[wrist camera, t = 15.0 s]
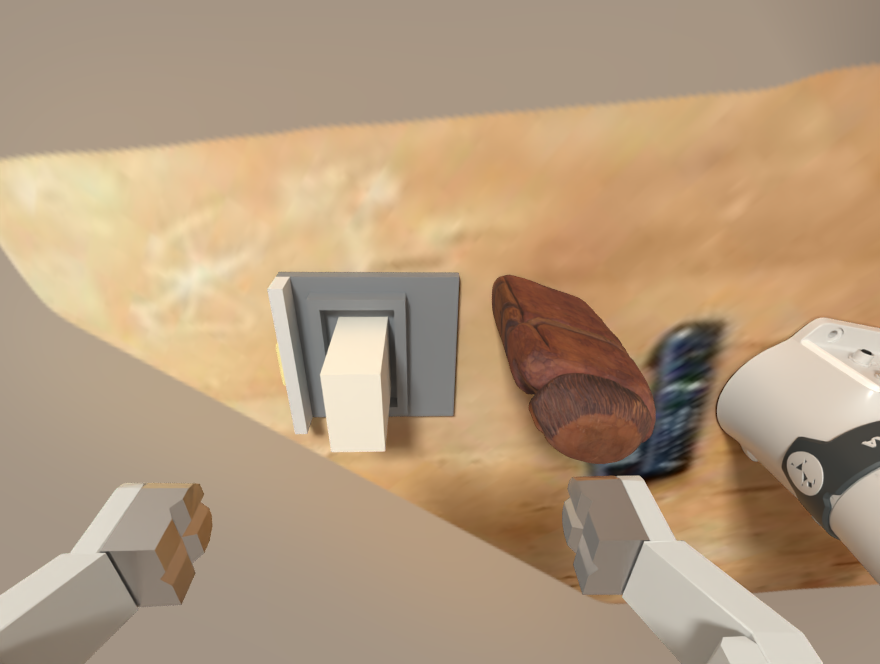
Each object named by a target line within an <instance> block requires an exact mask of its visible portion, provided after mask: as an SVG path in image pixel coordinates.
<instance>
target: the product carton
mask: <svg viewBox="0 0 880 664" xmlns="http://www.w3.org/2000/svg"><path fill="white" fill-rule="evenodd" d="M320 378H321V385H322V392H323V398H324V405H325V412H326V419H327V426H328V433H329V440H330V446H331V452H375V451H385V448H386V437H387V426H388V416H389V405H390V394H391V370H390V350H389V329H388V317H339V318H338V321H337V324H336V327H335V330H334V333H333V336H332V339H331V342H330V345H329V348H328V352H327V355H326V358H325V361H324V364H323V367H322V370H321V373H320Z"/></svg>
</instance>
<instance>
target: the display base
mask: <svg viewBox="0 0 880 664" xmlns="http://www.w3.org/2000/svg"><path fill="white" fill-rule="evenodd" d="M267 290H268V295H269V300H270V305H271V310H272V316H273V321H274V326H275V331H276V336H277V344H276V351H277V356H278V361H279V366H280V371H281V377H282V382H283V385H286V388H287V393H288V399H289V404H290V409H291V414H292V419H293V425H294V430H295V434H308V430H309V427H310V424H311V421H312V417H326V412H325V405H324V398H323V392H322V385H321V378H320V373H321V370H322V367H323V364H324V361H325V358H326V355H327V352H328V348H329V345H330V342H331V339H332V336H333V333H334V330H335V327H336V324H337V321H338V318H339V317H388V329H389V350H390V370H391V394H390V405H389V416H453V409H454V386H455V363H456V340H457V317H458V294H459V273H394V272H279V273H278V274H277V276H276V277H275V279H274V280H273V282H272V283H271V284H270V286H269V287H268V289H267Z"/></svg>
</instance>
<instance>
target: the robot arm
mask: <svg viewBox="0 0 880 664" xmlns="http://www.w3.org/2000/svg"><path fill="white" fill-rule="evenodd" d="M717 417H718V421H719V424H720V426H721V427H722V429H723V430H724V431H725V432H726V433H727V434H728V435H730V436H731V437H732V438H734V439H735V440H736V441H738V442H739V443H740V444H741V447H742V449H743V451H744V453H745V454H746V455H747V456H748V457H749V458H750V459H751V460H752V461H759V462H760V463H761V464H762V465H763V466H764V467H765V468H766V469H767V470H768V471H769V472H770V473H771V474H772V475H773V476H774V477H775V478H776V479H777V480H779V481H780V482H781V483H782V484H783V485H784V486H785V487H786V488H787V489H788V490H789V491H790V492H791V493H792V494H793V495H794V496H795V497H796V498H798V500H799V501H800V503H801V504H802V505H803V506H804V507H805V508H806V509H807V511H808V512H809V513H810V514H811V515H812V518H813V519H814V520H815V521H816V523H818V524H819V525H820V526H822V527H823V528H824V529H825V530H826V532H827V533H828V534H829V535H831V536H832V537H834V538H836V539H838V540H841V541H842V542H843V543H844V545H845V546H846V547H847V548H848V549H849V550H850V552H851V553H852V554H853V555H854V556H855V557H856V558H857V560H858V561H859V562H860V563H861V564H862V565H863V566H864V568H865V569H866V570H867V571H868V572H869V573H870V575H871V576H872V577H873V578H874V579H875V580H876V581H877V583H878V584H879V585H880V328H876V327H871V326H866V325H860V324H855V323H850V322H845V321H840V320H835V319H830V318H818V319H815V320H813V321H811V322H810V323H808V324H807V325H806V326H804V327H803V328H802V329H801V330H799V331H798V332H797V333H796V334H795V335H793V336H792V337H791V338H789V339H788V340H786V341H784V342H782V343H780V344H778V345H776V346H773V347H771V348H769V349H767V350H765V351H763V352H762V353H760V354H758V355H757V356H755V357H754V358H752V359H751V360H750V361H748V362H747V363H746V364H744V365H743V366H742V367H741V368H740V369H739V370H738V371H737V372H736V373H735V374H734V375H733V376H732V377H731V379H730V380H729V381H728V383H727V384H726V386H725V387H724V389H723V391H722V393H721V395H720V398H719V401H718V405H717ZM567 489H568V492H569V495H570V498H569V499H567V500H566V501H565V502H564V506H563V511H562V522H563V530H564V535H565V538H566V542H567V545H568V546H569V547H570V548H571V549H572V550H573V551H574V552H575V553H576V556H575V560H574V564H573V565H574V568H575V572H576V575H577V578H578V581H579V585H580V588H581V591H582V594H583V595H623V596H622V597H623V599H624V600H625V601H626V602H627V603H628V604H629V605H630V606H631V607H632V609H633V610H634V611H635V612H636V613H637V614H638V615H639V617H640V618H641V619H642V620H643V621H644V622H645V623H646V624H647V626H648V627H649V628H650V629H651V630H652V631H653V632H654V633H655V634H656V636H657V637H658V638H659V639H660V640H661V641H662V642H663V644H664V645H665V646H666V647H667V648H668V649H669V650H670V651H671V652H672V654H673V655H674V656H675V657H676V658H677V659H678V660H679V662H680V663H681V664H823V662H822V661H821V659H820V658H819V656H818V655H817V653H816V652H815V650H814V649H813V647H812V646H811V644H810V643H809V641H808V640H807V638H806V637H805V635H804V634H803V633H802V632H801V631H800V630H799V629H797V628H796V627H795V626H793V625H792V624H791V623H789V622H788V621H787V620H785V619H784V618H782V616H780V615H779V614H777V613H776V612H775V611H774V610H773V609H771V608H770V607H769V606H767V605H766V604H765V603H764V602H762V601H761V600H760V599H758V598H757V597H756V596H755V595H753V594H752V593H751V592H749V591H748V590H747V589H745V588H744V587H743V586H742V585H740V584H739V583H738V582H736V581H735V580H734V579H733V578H731V577H730V576H729V575H727V574H726V573H725V572H723V571H722V570H721V569H720V568H718V567H717V566H716V565H714V564H713V563H712V562H711V561H709V560H708V559H707V558H705V557H704V556H703V555H701V554H700V553H699V552H698V551H696V550H695V549H694V548H692V547H691V546H690V545H689V544H687V543H686V542H685V541H677V540H676V538H675V537H674V535H673V533H672V531H671V529H670V527H669V526H668V524H667V522H666V520H665V518H664V516H663V514H662V513H661V511H660V509H659V507H658V505H657V503H656V502H655V500H654V498H653V496H652V494H651V492H650V491H649V489H648V487H647V485H646V483H645V481H644V479H642V478H641V477H640V476H616V477H615V476H591V477H572V478H571V479H570V481H569V484H568V488H567ZM203 496H204V493H203V490H202V488H201V486H200V484H196V483H124V484H122V485H121V486H119V487H118V488H117V489H116V490H115V491H114V492H113V494H112V495H111V497H110V498H109V499H108V501H107V502H106V503H105V505H104V506H103V508H102V509H101V511H100V512H99V513H98V515H97V516H96V517H95V519H94V520H93V522H92V523H91V524H90V526H89V527H88V529H87V530H86V531H85V533H84V534H83V536H82V537H81V538H80V540H79V541H78V542H77V544H76V545H75V547H74V548H73V549H72V551H71V552H70V553H63V554H61V555H59V556H58V557H56V558H55V559H53V560H52V561H50V562H49V563H47V564H46V565H44V566H43V567H41V568H40V569H39V570H37V571H36V572H34V573H33V574H31V575H30V576H28V577H27V578H25V579H24V580H22V581H21V582H19V583H18V584H16V585H15V586H14V587H12V588H11V589H9V590H8V591H6V592H5V593H3V594H2V595H0V664H84V663H85V662H86V661H87V660H88V659H89V658H90V657H91V656H92V655H93V654H94V653H95V652H96V651H97V650H98V649H99V648H100V647H101V646H102V645H103V644H104V643H105V642H106V641H107V640H108V639H109V638H110V637H111V636H112V635H113V634H115V633H116V632H117V630H119V628H121V626H123V625H124V624H125V623H126V622H127V620H129V619H130V618H131V617H132V615H134V614H135V613H136V612H137V611H138V607H151V606H167V605H168V606H169V605H182V602H183V600H184V598H185V595H186V593H187V591H188V589H189V586H190V584H191V582H192V580H193V578H194V575H195V570H194V567H193V562H194V561H196V560H197V559H198V558H199V557H200V556H201V555H203V554H204V553H205V550H206V548H207V545H208V543H209V541H210V536H211V531H212V515H211V512H210V509H209V508H208V507H207V506H205V505H204V504H203V503H201V500H202V498H203Z"/></svg>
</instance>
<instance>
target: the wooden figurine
mask: <svg viewBox="0 0 880 664" xmlns="http://www.w3.org/2000/svg"><path fill="white" fill-rule="evenodd" d="M492 309H493V314H494V317H495V321H496V325H497V328H498V331H499V334H500V337H501V339H502V342H503V345H504V349H505V352H506V356H507V358H508V362H509V366H510V369H511V372H512V375H513V378H514V380H515V382H516V384H517V386H518V387H519V388H520V389H521V390H523V391H524V392H525V393H527V394H535V396H534V397H533V398H532V399H531V401H530V403H529V411H530V413H531V415H532V418H533V421H534V423H535V426H536V427H537V429H538V430H539V431H541V432H542V433H543V434H544V436H545V438H546V439H547V441H548V442H549V443H550V444H551V445H552V446H553V447H554V448H555V449H556V450H558V451H559V452H561V453H562V454H564V455H566V456H568V457H570V458H573V459H577V460H580V461H584V462H588V463H595V464H606V463H612V462H617V461H620V460H622V459H624V458H625V457H627V456H629V455H630V454H631V453H633V452H634V451H635V450H636V449H637V448H638V446H639V445H640V444H641V443H643V442H645V441H646V440H647V439H648V438H650V436H651V435H652V432H653V429H654V424H655V406H654V400H653V396H652V393H651V391H650V388H649V386H648V384H647V382H646V380H645V378H644V377H643V375H642V373H641V372H640V370H639V368H638V367H637V365H636V364H635V362H634V361H633V360H632V359H631V358H630V357H629V355H628V353H627V352H626V349H625V348H624V347H623V346H622V344H621V342H620V340H619V339H618V338H617V337H616V336H615V335H614V334H613V333H612V332H611V331H610V330H609V328H608V327H607V326H606V325H605V324H604V322H603V321H602V319H601V318H600V317H599V316H598V315H597V314H596V313H595V312H594V311H593V310H592V309H591V308H590V307H589V306H588V305H587V304H586V303H585V302H584V301H583V300H581V299H580V298H578V297H575V296H573V295H570V294H567V293H564V292H561V291H557V290H555V289H552V288H548V287H546V286H543V285H540V284H538V283H536V282H533V281H530V280H527V279H524V278H520V277H516V276H513V275H505V276H502V277H499V278H497V280H496V281H495V282H494V285H493V289H492Z"/></svg>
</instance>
